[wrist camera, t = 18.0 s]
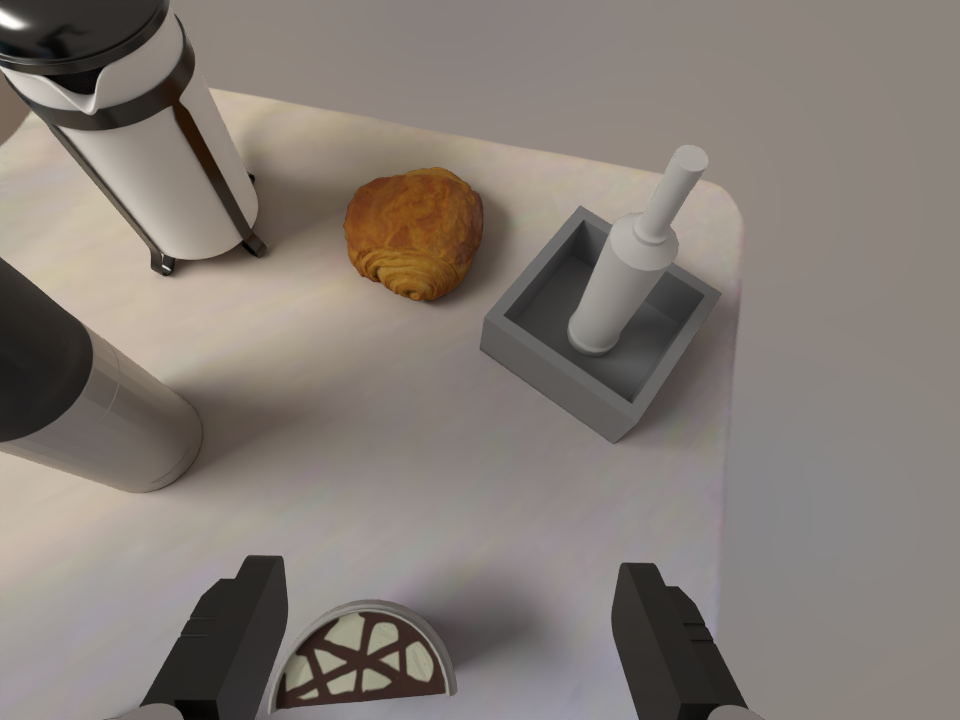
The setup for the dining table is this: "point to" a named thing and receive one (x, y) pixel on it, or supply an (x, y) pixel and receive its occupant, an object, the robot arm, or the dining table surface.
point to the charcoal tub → (614, 375)
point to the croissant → (415, 232)
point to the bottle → (634, 259)
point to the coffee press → (134, 119)
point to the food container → (363, 658)
